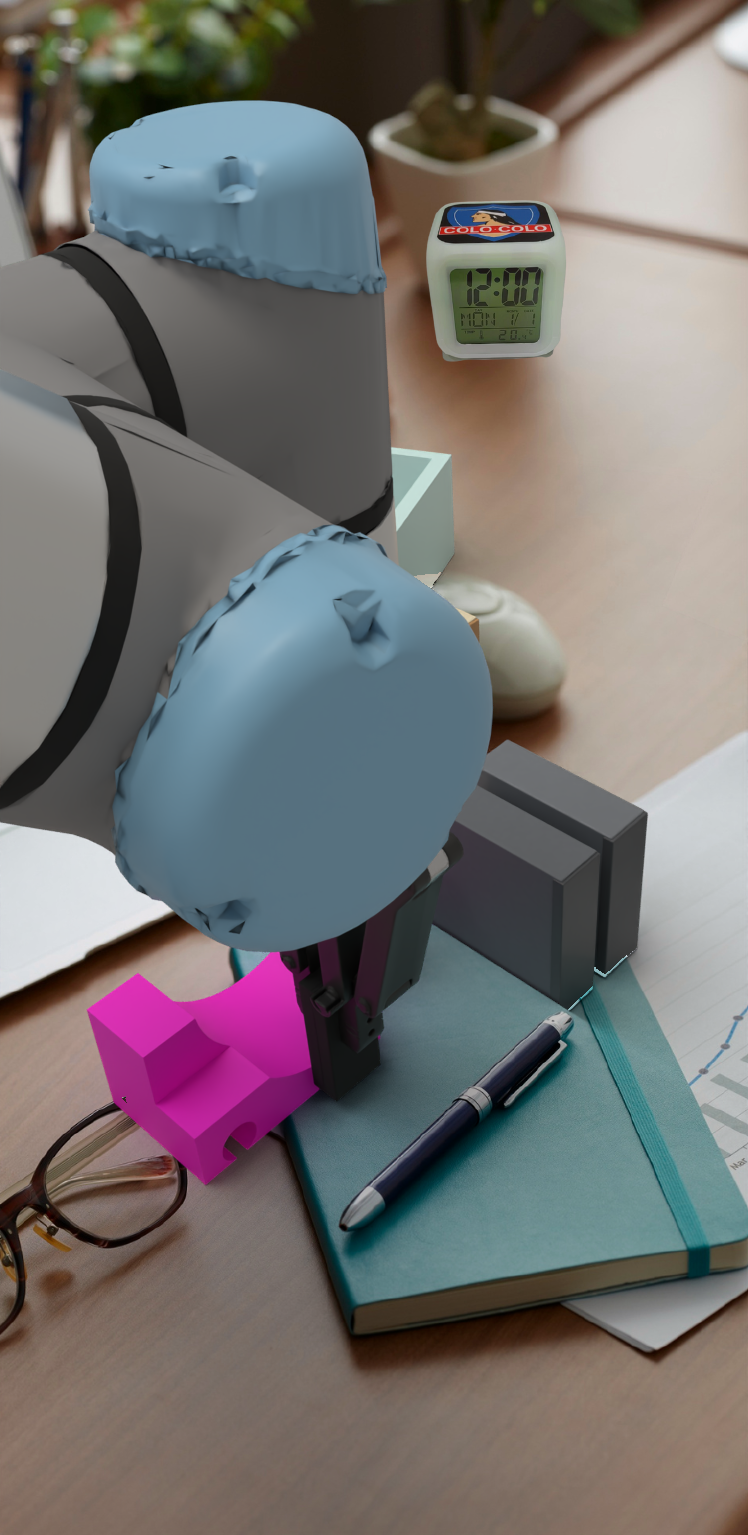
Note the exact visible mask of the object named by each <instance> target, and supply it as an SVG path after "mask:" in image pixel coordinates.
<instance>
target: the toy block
mask: <svg viewBox="0 0 748 1535" xmlns="http://www.w3.org/2000/svg"><path fill="white" fill-rule="evenodd" d="M86 1013H87V1016H88V1020H89V1023H90V1026H91V1030H92V1034H93V1037H94V1040H95V1044H96V1047H97V1050H98V1053H99V1057H100V1060H101V1065H102V1067H103V1071H104V1074H105V1077H106V1081H107V1085H108V1089H109V1092H110V1095H111V1098H112V1102H113V1103H114V1104H115V1105H116V1106H117V1107H118V1108H119V1109H120V1110H121V1111H122V1112H123V1113H125V1114H126V1115H127V1116H128V1117H129V1118H130V1119H131V1120H132V1121H134V1122H135V1123H136V1124H137V1125H138V1126H139V1127H140V1128H142V1130H144V1131H145V1133H147V1134H148V1135H149V1136H150V1137H151V1138H152V1139H154V1141H156V1142H157V1143H158V1144H159V1145H160V1146H162V1148H164V1149H165V1150H166V1151H167V1152H168V1153H169V1155H171V1156H172V1157H173V1158H175V1159H176V1160H177V1161H178V1162H179V1163H180V1164H181V1165H182V1166H184V1168H186V1169H187V1170H188V1171H189V1172H190V1173H191V1174H193V1176H194V1177H196V1178H197V1179H198V1180H199V1181H200V1182H201V1183H202V1184H204V1186H207V1185H208V1184H209V1183H211V1181H212V1180H214V1179H215V1178H216V1177H217V1176H218V1175H219V1174H221V1173H222V1172H223V1171H224V1170H225V1169H227V1168H228V1167H230V1165H231V1164H233V1163H234V1162H235V1161H237V1160H238V1157H237V1156H236V1155H234V1153H233V1152H231V1151H230V1150H229V1149H228V1148H226V1147H225V1144H226V1142H227V1140H228V1139H229V1137H231V1138H233V1139H234V1140H235V1141H236V1142H237V1143H238V1144H239V1145H241V1146H242V1147H243V1148H244V1149H245V1150H247V1151H248V1150H250V1148H252V1147H253V1146H255V1144H256V1143H258V1142H259V1141H260V1140H261V1139H262V1138H264V1137H265V1136H266V1135H267V1134H269V1133H270V1132H271V1131H272V1130H274V1128H276V1127H277V1126H278V1125H280V1123H282V1122H283V1121H284V1120H285V1119H286V1118H288V1117H289V1116H290V1115H291V1114H292V1113H293V1112H294V1111H296V1110H297V1109H298V1108H299V1107H300V1106H302V1105H303V1104H305V1102H306V1101H307V1100H309V1099H310V1098H312V1096H314V1095H315V1094H316V1093H317V1092H319V1091H320V1090H321V1089H320V1088H318V1087H317V1086H316V1085H314V1081H313V1074H312V1068H311V1062H310V1055H309V1048H308V1042H307V1035H306V1029H305V1022H304V1016H303V1014H302V1013H301V1011H300V1008H299V1006H298V1004H297V999H296V993H295V986H294V980H293V973H291V972H290V971H289V970H288V969H287V968H286V967H285V965H284V964H283V962H282V961H281V958H280V953H279V952H268V954H267V955H266V956H265V957H264V958H263V959H262V960H261V962H259V964H258V965H256V967H254V968H253V969H252V970H251V971H249V972H248V973H247V974H246V975H245V976H244V977H242V978H240V979H239V980H238V981H236V982H235V983H233V984H232V985H231V986H229V987H226V988H225V989H223V990H221V991H219V992H217V993H215V994H213V995H210V996H206V997H204V998H199V999H195V1000H190V1001H189V1000H188V1001H177V1000H173V999H171V998H170V997H169V996H168V995H166V994H165V993H164V992H163V991H161V990H160V989H159V988H158V987H156V986H155V985H154V984H153V983H151V981H149V980H148V979H146V977H144V976H143V975H142V974H140V973H139V972H137V973H136V974H134V975H133V976H131V977H130V978H128V979H127V980H126V981H124V982H123V983H121V984H120V985H119V986H117V987H116V988H115V989H113V990H112V991H110V992H109V993H108V994H106V995H105V996H103V997H102V998H100V999H99V1000H98V1001H97V1002H95V1003H93V1004H92V1005H91V1006H90V1007H87V1009H86ZM379 1040H381V1034H380V1035H379V1036H378V1041H379ZM125 1096H126V1098H125V1099H126V1102H127V1103H126V1102H125V1101H124V1100H123V1099H122V1097H125Z"/></svg>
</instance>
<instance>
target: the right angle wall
mask: <svg viewBox="0 0 748 1535" xmlns="http://www.w3.org/2000/svg"><path fill="white" fill-rule="evenodd" d="M391 454H392V477H393V495H394V501H395V516H396V531H397V546H398V562H399V566H400V567H401V568H402V569H404V570H405V571H407V572H408V573H410V574H411V575H412V576H417V575H425V574H438V573H439V572H442V573H443V572H444V570H445V569H446V568H447V566H448V564H449V563H450V561H451V559H452V558H453V556H454V555H455V550H456V549H455V522H454V521H455V520H454V519H455V518H454V492H453V490H454V489H453V487H454V486H453V456H452V455H453V454H450V453H442V452H434V451H428V450H427V451H425V450H419V449H418V450H417V449H410V448H402V447H401V448H400V447H395V446H391Z"/></svg>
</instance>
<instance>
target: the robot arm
mask: <svg viewBox="0 0 748 1535" xmlns="http://www.w3.org/2000/svg"><path fill="white" fill-rule="evenodd" d="M88 172H89V175H88V176H89V190H90V205H89V206H88V208H87V211H88V216H89V223H90V224H93V225H94V230H93V231H91V232H90V233H89V234H87V235H85V236H84V237H80V238H77V239H74V240H71V241H68V242H64V243H61V244H59V245H58V246H57V247H55V248H54V249H53V250H51V251H47V252H44V253H41V254H38V255H36V256H33V257H30V258H27V259H23V260H20V261H16V262H13V263H9V264H5V265H3V266H0V823H1V824H5V825H6V824H7V825H12V826H18V827H25V828H30V829H35V830H41V831H49V832H54V833H59V834H67V835H73V836H76V837H79V838H81V839H85V840H88V841H89V842H92V843H94V844H96V845H98V846H100V847H102V848H104V849H105V850H107V851H108V852H110V853H112V855H113V856H114V863H115V865H116V866H117V867H116V868H117V869H118V871H119V873H120V874H121V875H122V876H123V878H124V879H125V880H126V881H127V883H128V884H129V885H130V886H131V887H132V888H134V890H135V891H136V892H138V893H139V894H143V895H145V896H147V897H148V898H150V899H151V900H152V901H153V900H154V901H158V902H163V903H164V905H166V906H167V907H168V908H169V909H171V910H172V911H173V912H174V913H175V914H176V915H178V916H179V917H180V918H181V919H182V920H183V921H185V922H186V923H188V924H189V925H191V926H192V927H193V928H195V929H197V931H198V932H199V933H201V934H202V935H203V936H205V937H207V938H209V939H211V940H212V941H215V942H217V943H219V944H221V945H224V946H226V947H229V948H232V949H236V950H239V951H240V950H241V951H245V952H254V953H270V952H279V953H280V958H281V961H282V962H283V964H284V965H285V967H286V968H287V969H288V970H289V971H290V972H291V973H293V980H294V986H295V993H296V999H297V1004H298V1006H299V1008H300V1011H301V1013H302V1014H303V1016H304V1022H305V1029H306V1035H307V1042H308V1048H309V1055H310V1062H311V1068H312V1074H313V1081H314V1085H316V1086H317V1087H318V1088H320V1089H319V1090H321V1091H322V1092H323V1093H324V1094H326V1095H327V1096H328V1097H330V1098H331V1099H332V1100H333V1101H335V1102H336V1103H338V1102H339V1101H340V1100H341V1099H342V1098H344V1097H345V1096H346V1095H347V1094H348V1093H349V1092H351V1091H352V1090H353V1089H354V1088H355V1087H356V1086H357V1085H359V1084H360V1083H362V1081H363V1080H364V1079H366V1077H368V1076H369V1075H370V1074H371V1073H373V1072H374V1071H375V1070H376V1069H377V1068H378V1067H380V1066H381V1065H382V1060H381V1050H380V1041H379V1040H378V1036H379V1035H380V1036H381V1035H382V1034H383V1031H384V1029H385V1022H384V1013H383V1012H384V1011H385V1010H386V1009H388V1008H389V1007H390V1006H391V1005H393V1003H395V1002H396V1001H397V1000H398V999H399V998H401V997H402V996H403V995H405V993H407V992H408V991H409V990H410V989H412V988H413V987H415V985H416V984H418V982H419V981H420V978H421V973H422V971H423V970H422V969H423V965H424V961H425V957H426V953H427V948H428V943H429V940H430V935H431V932H432V926H433V924H432V923H433V918H434V914H435V910H436V905H437V901H438V897H439V892H440V888H441V884H442V879H443V875H444V874H445V873H446V872H447V871H448V870H449V869H451V868H452V867H453V866H454V865H455V864H456V863H457V862H458V861H459V860H460V859H461V858H462V857H463V855H464V851H463V847H462V844H461V842H460V841H459V839H458V838H457V837H456V836H455V835H454V834H453V833H451V832H450V828H451V826H452V825H453V823H454V821H455V819H456V817H457V815H458V814H459V813H460V812H461V809H462V806H463V804H464V803H465V801H466V800H467V799H468V797H469V796H470V795H471V793H472V792H473V791H474V790H475V788H476V786H477V783H478V781H479V778H480V775H481V772H482V768H483V765H484V762H485V759H486V755H487V754H488V750H489V745H490V740H491V735H492V727H493V726H492V725H493V715H494V714H493V711H494V710H493V709H494V706H493V705H494V704H493V703H494V702H493V684H492V679H491V674H490V669H489V666H488V663H487V660H486V656H485V653H484V650H483V648H482V646H481V644H479V643H480V641H479V642H478V640H477V638H476V636H475V634H474V632H473V631H472V629H471V627H470V625H469V624H468V622H467V620H466V619H465V618H464V617H463V616H462V615H461V614H460V613H459V611H458V610H457V609H456V608H457V607H456V608H455V606H454V605H453V604H452V603H451V602H450V601H449V600H447V599H446V598H445V597H444V596H442V595H441V594H439V593H438V592H437V591H435V590H434V589H433V588H432V589H431V588H430V587H428V586H427V585H425V584H424V583H422V582H421V581H420V580H418V579H417V578H415V577H414V576H412V575H411V574H410V573H408V572H407V571H405V570H404V569H402V568H401V567H400V566H399V562H398V546H397V531H396V516H395V501H394V495H393V477H392V454H391V447H392V437H391V436H392V434H391V415H390V414H391V413H390V394H389V393H390V392H389V374H388V373H389V372H388V371H389V370H388V352H387V331H386V310H385V292H386V289H387V288H388V279H387V275H386V271H385V270H384V268H383V265H382V259H381V258H382V257H381V246H380V241H379V240H380V239H379V231H378V223H377V222H378V221H377V214H376V212H377V211H376V205H375V198H374V195H373V191H372V190H373V189H372V185H371V178H370V172H369V167H368V162H367V158H366V154H365V151H364V148H363V146H362V145H361V143H360V141H359V140H358V137H357V136H356V135H355V133H354V132H353V131H352V130H351V129H350V128H349V127H348V126H347V125H346V124H345V123H343V122H342V121H341V120H339V119H338V118H336V117H334V116H332V115H331V114H329V113H326V112H324V111H321V110H318V109H315V108H312V107H308V106H304V105H301V104H297V103H292V102H284V101H272V100H232V101H231V100H230V101H217V102H207V103H200V104H194V105H188V106H182V107H177V108H172V109H168V110H165V111H160V112H157V113H152V114H150V115H145V116H143V117H141V118H139V119H136V120H135V121H134V122H133V124H132V125H130V126H129V127H126V128H121V129H119V130H116V131H113V132H111V133H109V134H108V135H107V136H105V137H104V138H103V139H102V140H101V142H100V143H99V144H98V145H97V146H96V148H95V150H94V152H93V153H92V157H91V159H90V163H89V171H88Z"/></svg>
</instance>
